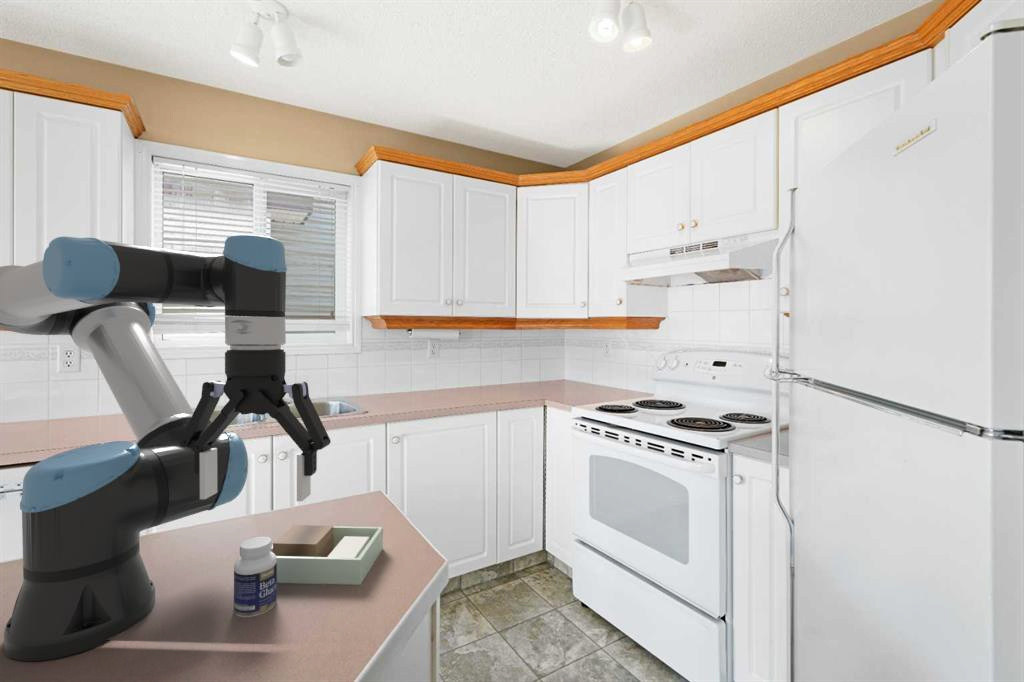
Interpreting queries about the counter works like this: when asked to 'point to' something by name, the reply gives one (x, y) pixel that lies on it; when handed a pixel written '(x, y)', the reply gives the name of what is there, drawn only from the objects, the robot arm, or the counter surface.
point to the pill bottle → (255, 578)
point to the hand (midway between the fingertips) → (256, 497)
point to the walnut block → (305, 541)
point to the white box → (350, 547)
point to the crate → (333, 561)
